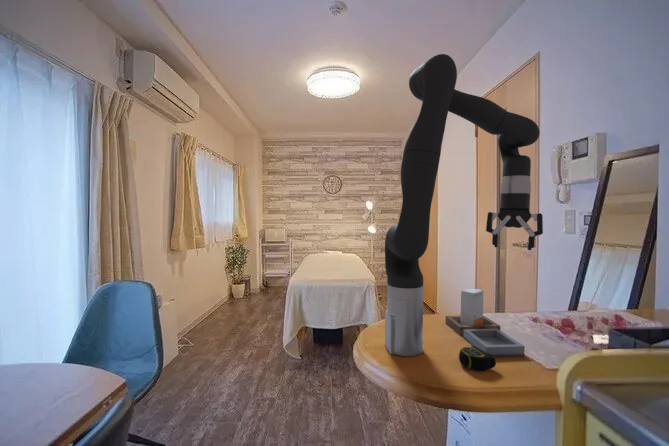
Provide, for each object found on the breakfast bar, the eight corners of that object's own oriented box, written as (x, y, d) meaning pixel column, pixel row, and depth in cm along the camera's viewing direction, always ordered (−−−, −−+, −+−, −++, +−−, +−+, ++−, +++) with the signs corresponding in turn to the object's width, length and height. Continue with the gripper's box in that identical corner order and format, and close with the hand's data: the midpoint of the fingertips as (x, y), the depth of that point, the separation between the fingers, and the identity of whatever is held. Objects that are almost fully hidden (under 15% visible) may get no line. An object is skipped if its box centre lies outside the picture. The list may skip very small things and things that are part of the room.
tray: (486, 357, 80) (486, 347, 80) (463, 338, 92) (463, 329, 92) (524, 355, 81) (524, 346, 81) (497, 337, 93) (497, 328, 93)
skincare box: (473, 333, 96) (473, 293, 95) (459, 328, 99) (460, 290, 99) (483, 328, 100) (484, 290, 99) (470, 324, 103) (470, 287, 102)
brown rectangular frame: (459, 335, 94) (459, 327, 94) (445, 323, 104) (445, 315, 104) (500, 334, 95) (500, 325, 95) (482, 322, 105) (482, 314, 105)
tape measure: (497, 371, 73) (497, 355, 73) (472, 376, 71) (473, 360, 71) (475, 358, 80) (476, 343, 79) (452, 362, 78) (452, 347, 77)
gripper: (485, 192, 94) (483, 247, 94) (544, 191, 85) (541, 252, 86) (490, 193, 100) (488, 245, 100) (545, 193, 91) (542, 249, 92)
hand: (512, 248), depth 93 cm, fingers open, 8 cm apart
